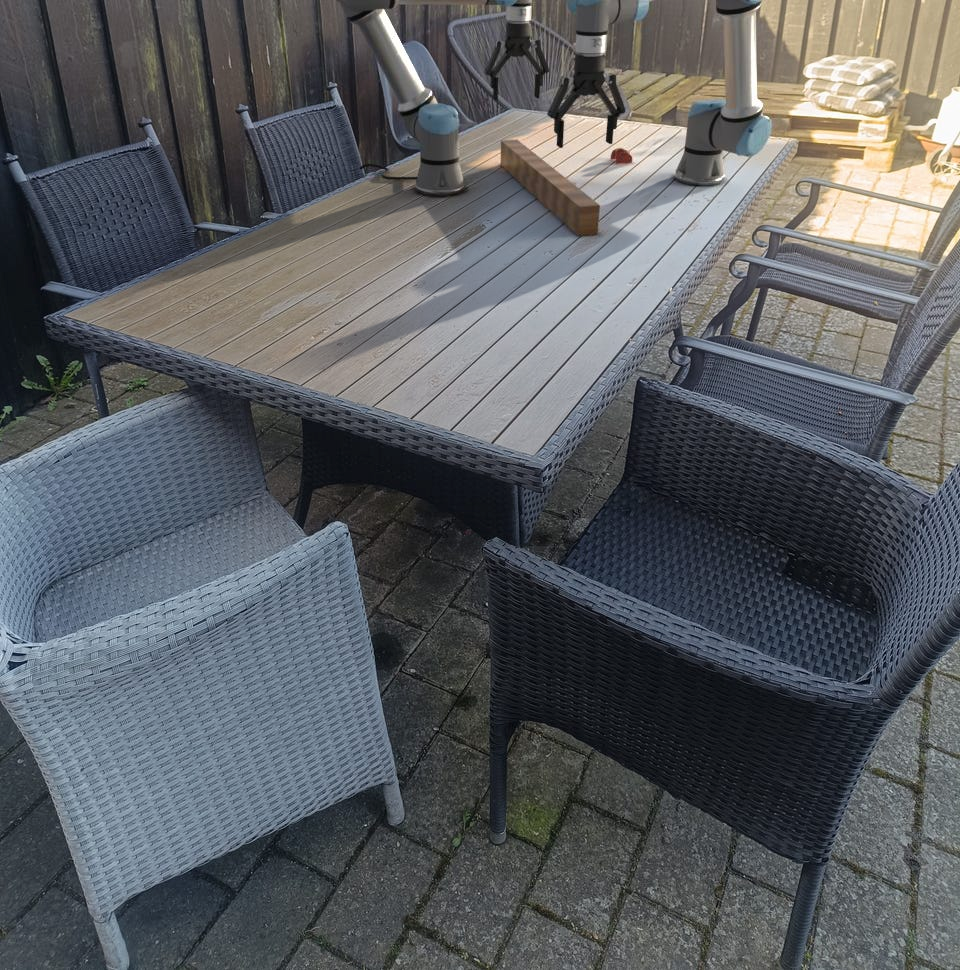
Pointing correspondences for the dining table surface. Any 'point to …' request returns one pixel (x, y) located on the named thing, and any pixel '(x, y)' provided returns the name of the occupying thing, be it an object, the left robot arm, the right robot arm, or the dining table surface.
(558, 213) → the beam
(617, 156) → the red rounded lump
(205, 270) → the dining table surface
